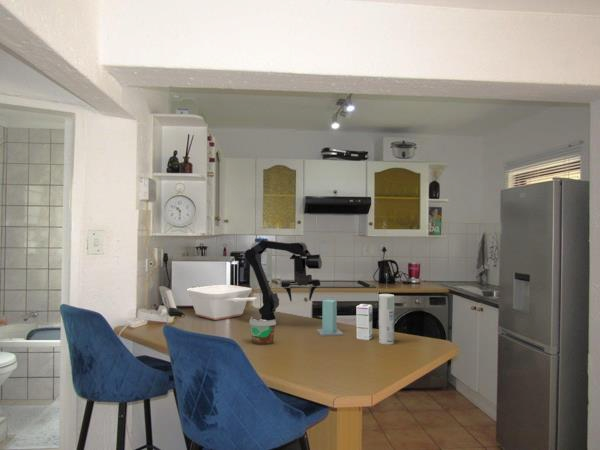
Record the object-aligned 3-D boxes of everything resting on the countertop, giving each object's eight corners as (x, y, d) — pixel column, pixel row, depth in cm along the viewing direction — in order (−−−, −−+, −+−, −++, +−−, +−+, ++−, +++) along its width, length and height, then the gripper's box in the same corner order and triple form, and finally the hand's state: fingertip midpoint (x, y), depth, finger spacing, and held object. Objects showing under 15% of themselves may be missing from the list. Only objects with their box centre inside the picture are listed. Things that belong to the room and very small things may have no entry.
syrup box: (369, 340, 178) (369, 306, 178) (356, 338, 180) (356, 305, 181) (372, 337, 183) (372, 304, 183) (359, 335, 186) (359, 303, 186)
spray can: (390, 345, 170) (390, 296, 171) (375, 342, 174) (376, 295, 175) (396, 342, 176) (396, 294, 176) (382, 339, 180) (382, 293, 180)
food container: (243, 343, 172) (243, 319, 173) (251, 339, 178) (251, 316, 178) (268, 347, 167) (268, 322, 167) (276, 343, 172) (276, 319, 172)
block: (322, 331, 189) (322, 301, 190) (326, 329, 194) (326, 299, 194) (332, 332, 187) (332, 301, 187) (336, 330, 192) (336, 300, 192)
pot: (224, 309, 246) (225, 284, 246) (276, 320, 216) (276, 292, 216) (181, 316, 225) (182, 288, 226) (231, 330, 195) (232, 298, 195)
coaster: (321, 336, 185) (321, 334, 185) (316, 330, 195) (316, 329, 195) (343, 335, 186) (343, 333, 186) (337, 330, 196) (337, 328, 196)
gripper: (282, 270, 190) (283, 304, 190) (322, 269, 193) (323, 302, 193) (279, 268, 201) (280, 300, 201) (317, 267, 204) (318, 299, 204)
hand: (300, 301), depth 199 cm, fingers open, 9 cm apart
